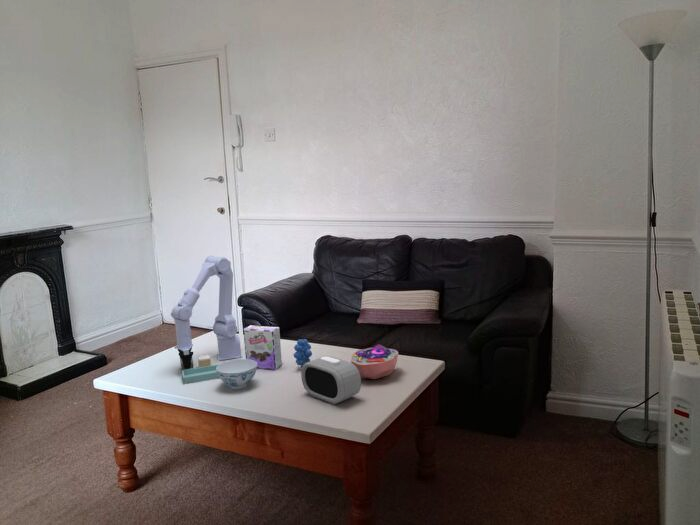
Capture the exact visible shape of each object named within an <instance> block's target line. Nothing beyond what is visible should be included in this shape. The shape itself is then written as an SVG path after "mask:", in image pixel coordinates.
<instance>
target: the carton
mask: <svg viewBox="0 0 700 525" xmlns="http://www.w3.org/2000/svg"><path fill="white" fill-rule="evenodd" d="M197 361H198V368H199V367H205V366H211V365H212V364H211V363H212V361H211V357H210V354H206V355H199V356H197Z"/></svg>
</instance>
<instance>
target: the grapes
mask: <svg viewBox="0 0 700 525" xmlns="http://www.w3.org/2000/svg"><path fill="white" fill-rule="evenodd" d="M293 349H294V350H295V352H294V353H293V358H295V359H296V360H295V363H296V364H297V366H300V367H301V368H302V367H303V365H304V364H305V363H307V362H310V361H311V359H310V358H311V357H312V355H313V352H312V350H311V349H312V345H311V344H310V343H309V341H308V340H307V339H306V338H299V339H298V340H297V342H296V344H295V345H294V347H293Z"/></svg>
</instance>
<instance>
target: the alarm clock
mask: <svg viewBox="0 0 700 525" xmlns="http://www.w3.org/2000/svg"><path fill="white" fill-rule="evenodd" d="M300 374H301V376H300V377H301V382H302V385H303V388H304V389H305V390H306V392H307V393H308V394H309V395H311V396H312V397H314V398H316V399H319V400H322V401H325V402H328V403H330V404H332V405H337V404H339V403H341V402H343V401H347V399H348V400H349V399H350V398H351V397H354V396H355V395H357V394H358V393H360V391H361V388H362V377H361V376H360V373H359V371H358V369H357V367H356V366H355V365H354V364H352V363H351V361H348V360H345V359H341V358H337V357H335V356H334V357H333V356H330V355H329V356H328V355H324V356H322V357H318V358H315V359H313V360H310V362H307V363H305V364H304V365H303V367H301V373H300Z"/></svg>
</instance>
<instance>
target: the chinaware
mask: <svg viewBox="0 0 700 525" xmlns="http://www.w3.org/2000/svg"><path fill="white" fill-rule="evenodd" d="M218 364H219V365H218V366H217V367H216V371H217V374H218V376H219V378H218V379H220V380H221V381H222V382H223V383H224V384H226V385H227V386H228V387H229V388H230V389H232V390H237V389H243V388H246V387H247V386H248V383H250V382H251V381H252V379H253V378H254V377H255V375H256V372H257V369H258V368H257V362H256V361H254V360H249V359H246V358H240V359H238V358H236V359H229V360H227V361H223V362H221V363H218Z"/></svg>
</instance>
